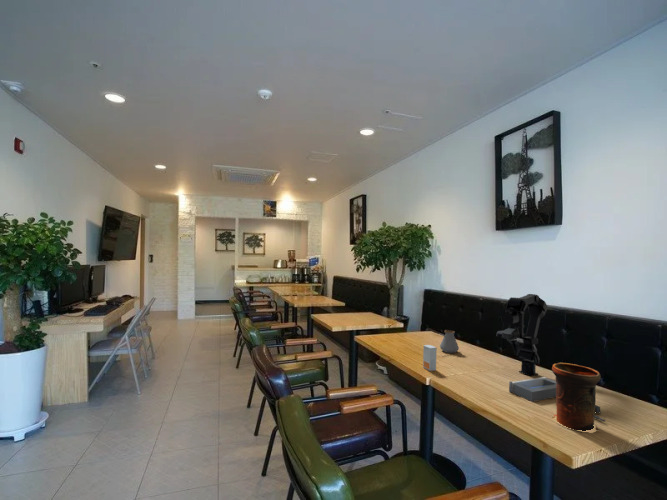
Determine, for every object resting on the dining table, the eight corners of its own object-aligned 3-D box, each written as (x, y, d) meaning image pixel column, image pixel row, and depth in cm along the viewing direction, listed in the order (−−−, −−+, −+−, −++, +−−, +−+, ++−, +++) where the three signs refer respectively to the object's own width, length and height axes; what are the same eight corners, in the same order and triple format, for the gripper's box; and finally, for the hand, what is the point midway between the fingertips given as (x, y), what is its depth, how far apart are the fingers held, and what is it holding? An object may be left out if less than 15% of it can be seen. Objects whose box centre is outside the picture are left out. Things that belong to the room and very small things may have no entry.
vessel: (563, 411, 133) (565, 360, 133) (606, 428, 120) (608, 372, 120) (541, 418, 126) (543, 364, 126) (585, 438, 113) (587, 378, 113)
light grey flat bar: (510, 392, 150) (510, 382, 150) (508, 391, 151) (508, 381, 151) (546, 386, 158) (546, 377, 159) (544, 385, 160) (544, 376, 160)
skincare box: (422, 367, 182) (423, 345, 183) (429, 366, 184) (429, 344, 184) (429, 371, 177) (430, 348, 177) (436, 370, 178) (436, 347, 178)
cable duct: (548, 387, 158) (548, 378, 158) (568, 394, 150) (568, 385, 150) (513, 393, 150) (513, 384, 150) (532, 401, 141) (532, 391, 141)
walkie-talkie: (555, 402, 143) (602, 425, 123) (555, 391, 143) (602, 413, 123) (572, 400, 144) (621, 423, 125) (572, 390, 145) (621, 411, 125)
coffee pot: (453, 348, 223) (453, 326, 223) (462, 353, 211) (462, 329, 212) (422, 349, 220) (422, 326, 220) (429, 354, 208) (430, 329, 209)
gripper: (489, 320, 173) (488, 351, 173) (524, 328, 157) (523, 362, 157) (503, 319, 179) (503, 349, 178) (539, 326, 162) (538, 359, 162)
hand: (516, 354), depth 168 cm, fingers closed
